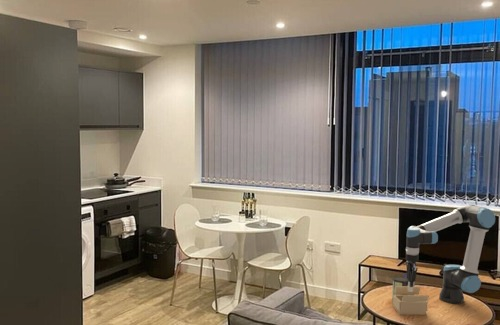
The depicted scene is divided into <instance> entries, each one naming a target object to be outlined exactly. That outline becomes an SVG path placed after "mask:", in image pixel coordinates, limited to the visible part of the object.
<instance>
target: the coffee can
mask: <svg viewBox="0 0 500 325" xmlns="http://www.w3.org/2000/svg"><path fill="white" fill-rule="evenodd" d="M396 286H408V278H405V277H404V276H393V277H392V294H391V296H392V297H391V299H392V301H393V296H394V295H404V294H395V290H396Z"/></svg>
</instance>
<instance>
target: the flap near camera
mask: <svg viewBox="0 0 500 325" xmlns="http://www.w3.org/2000/svg"><path fill="white" fill-rule="evenodd" d="M429 298H430V295H429V294H427V295H426V294H425V295H422V294H419V295H404V296H403V299H402V301H415V302H427V303H428V299H429Z"/></svg>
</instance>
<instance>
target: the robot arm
mask: <svg viewBox="0 0 500 325" xmlns="http://www.w3.org/2000/svg"><path fill="white" fill-rule="evenodd" d="M462 223H463V224H464V223H469V224H468V227H469V229H470V231H469V236H468V240H467V243H466V249H465V252H464V258H463V263H462V265H460V264H446V265H444V266H443V275H442V288H441V290H440V292H439V299H440V300H441V301H443V302H445V303H449V304H462V303H464V302H465V297H464V292H466V293H468V294H473V293H475V292H477V291H478V290H480V287H481V286H482V285H481V284H482V280H481V279H480V277H479V275H480V272H479V270H478V267H479V263H480V258H481V254H482V248H483V244H484V241H485V240H484V239H485V236H486V233H487V232H489V230H490V228H492V227H493V226H494V225H495V223H496V216H495V213H494V211H493V210H491V209H490V208H487V207H485V206H479V205H475V204H467V205H464V206H460V207H458V208H456V209H453V210H452V212H449V213H447V214H444V215H442V216H439V217H437V218H434V219H432V220H429V221H427V222H425V223H422V224H420V225H417V226H416V225H411V226H409V227H408V228H407V231H406V240H405V241H406V245H405V246H406V247H405V249H404V250H405V260H406V262H405V265H406V274H407V275H406V276H407V278H408V292H413V282H415V283H416V279H417V271H418V267H417V263H416V262H418V261H419V258H420V257H419V253H420V245H432V244H433V245H434V244H436V243H438V241H439V235H438V233H437V232H438V231H441V230H444V229H446V228H448V227H451V226H453V225H456V224H462Z"/></svg>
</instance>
